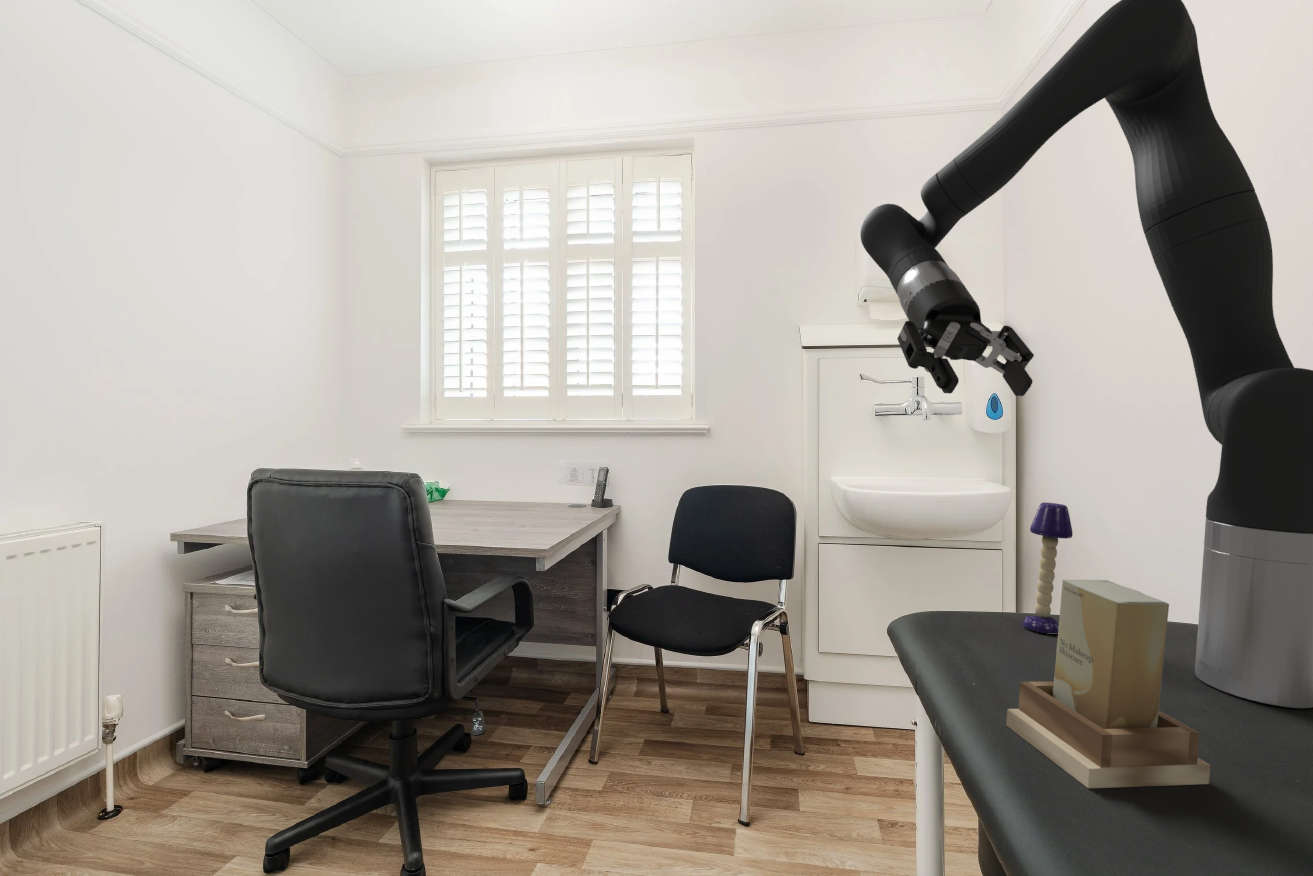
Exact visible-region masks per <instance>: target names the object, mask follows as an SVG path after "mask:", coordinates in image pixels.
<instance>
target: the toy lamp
mask: <svg viewBox="0 0 1313 876" xmlns="http://www.w3.org/2000/svg"><path fill="white" fill-rule="evenodd" d="M1069 513H1070V512H1069V509H1068V506H1067V505H1065V504H1062V503H1054V502H1041V503H1039V506H1038V508H1037V511H1036V513H1035V516H1034V518H1033V520H1032V522H1031V525H1030V528H1029V530H1030V533H1032V534H1034V535H1037V536H1041V545H1042V547H1041V548H1040V555H1041V558H1040V559H1039V566H1040V569H1039V570H1038V579H1039V580H1038V582H1037V584H1036V589H1037V593H1036V595H1035V600H1036V604H1035V606H1034V611H1035V614H1037V615H1049V616H1028V615H1026V617H1024V619H1023V621H1022V626H1023V628H1025V627H1026V628H1025V629H1027V630H1029V629H1030V630H1029V631H1031V630H1033V631H1032V632H1034V631H1036V632H1035V633H1038V632H1041V633H1040V634H1042V633H1058V628H1059V621H1058V620H1056V619H1055V618H1054V617H1052V616H1050V615H1051V611H1052V609H1051V604H1052V603H1053V602H1052V601H1053V596H1052V593H1053V591H1054V583H1053V582H1054V580H1055V577H1056V576H1055V575H1056V574H1055V571H1054V570H1055V569H1056V566H1057V565H1056V564H1057V562H1056V558H1057V555H1058V550H1057V546H1058V544H1059V539H1072V537H1073V528H1072V522H1071V518H1070V517H1071V516H1070V514H1069Z"/></svg>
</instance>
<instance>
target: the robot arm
mask: <svg viewBox="0 0 1313 876" xmlns="http://www.w3.org/2000/svg"><path fill="white" fill-rule="evenodd" d="M1103 99H1105V101H1106V102H1107V103H1108V106H1109V107H1110V108H1111V111H1112V112H1113V114H1114V116H1115V118H1116V120H1117V122H1118V124H1119V126H1120V128H1121V130H1122V132H1123V135H1124V137H1125V139H1126V140H1127V141H1126V142H1127V143H1128V145H1129V149H1130V152H1131V156H1132V160H1133V168H1134V180H1135V181H1134V182H1135V183H1134V184H1135V193H1136V199H1137V200H1136V201H1137V209H1138V213H1139V214H1138V215H1139V218H1140V224H1141V226H1142V227H1141V228H1142V231H1143V234H1144V236H1145V239H1146V243H1147V245H1148V248H1149V250H1150V254H1151V256H1152V259H1153V262H1154V265H1155V267H1156V270H1157V272H1158V274H1159V277H1160V279H1161V282H1162V285H1163V287H1164V290H1165V292H1166V295H1167V297H1168V300H1169V302H1170V305H1171V307H1172V309H1173V312H1174V314H1175V316H1176V318H1177V321H1178V323H1179V325H1180V327H1181V329H1182V331H1183V334H1184V338H1186V341H1187V344H1188V347H1189V348H1188V349H1189V351H1190V356H1191V360H1192V364H1193V368H1194V372H1195V373H1194V374H1195V378H1196V382H1197V389H1198V393H1199V398H1200V403H1201V409H1202V415H1203V419H1204V423H1205V425H1206V428H1207V430H1208V431H1209V433H1210V434H1211V436H1212V437H1213V438H1214V439H1215V441H1217V442H1218V443H1219V444H1220V445H1221V451H1220V461H1219V471H1218V475H1217V476H1218V477H1217V481H1216V483H1215V485H1214V488H1213V489H1212V491H1211V492H1210V493H1209V494H1208V496H1207V497H1206V507H1205V508H1206V509H1205V524H1204V525H1205V527H1204V539H1203V540H1204V541H1203V555H1202V557H1203V558H1202V568H1201V581H1200V597H1199V610H1198V624H1197V625H1198V626H1197V637H1196V647H1195V648H1196V650H1195V651H1196V652H1195V663H1194V675H1195V676H1196V678H1198V679H1199V681H1202V682H1203V683H1204V684H1207V685H1209V686H1211V687H1213V688H1215V689H1218V690H1219V691H1222V692H1224V693H1227V694H1231V695H1233V696H1236V697H1239V698H1243V699H1247V700H1249V701H1255V702H1258V703H1262V704H1267V705H1272V706H1278V707H1284V708H1292V709H1312V708H1313V369H1308V368H1304V367H1303V368H1300V367H1295V366H1294V363H1293V362H1292V360H1291V359H1290V356H1289V354H1288V352H1287V349H1286V348H1285V345H1284V342H1283V340H1282V338H1281V335H1280V333H1279V331H1278V328H1277V323H1276V321H1275V315H1274V307H1273V306H1274V304H1273V302H1274V301H1273V299H1274V298H1273V286H1274V285H1273V284H1274V280H1273V279H1274V263H1273V262H1274V258H1273V257H1274V256H1273V255H1274V254H1273V245H1272V238H1271V232H1270V229H1269V227H1268V226H1269V225H1268V222H1267V218H1266V216H1265V214H1264V209H1263V207H1262V205H1261V203H1260V200H1259V197H1258V195H1257V192H1256V190H1255V187H1254V185H1253V182H1252V180H1251V179H1250V176H1249V174H1248V172H1247V170H1246V168H1245V166H1244V164H1243V162H1242V160H1241V158H1240V157H1239V154H1238V152H1237V151H1236V150H1235V148H1234V146H1233V144H1232V142H1231V141H1230V140H1229V139H1228V137H1227V135H1226V134H1225V132H1224V131H1223V129H1222V127H1221V126H1220V124H1219V123H1218V121H1217V118H1216V116H1215V114H1214V111H1213V110H1212V106H1211V103H1210V99H1209V96H1208V91H1207V88H1206V83H1205V79H1204V73H1203V68H1202V63H1201V58H1200V51H1199V45H1198V35H1197V31H1196V28H1195V24H1194V22H1193V20H1192V18H1191V15H1190V14H1189V11H1188V9H1187V8H1186V6H1185V4H1184V2H1183V1H1182V0H1119V1H1118V2H1117V3H1115V4H1113V5H1111V7H1109V8H1108V9H1107V10H1106V11H1105V12H1104V13H1103V14H1102V15H1101V16H1100V17H1099V18H1097V19H1096V21H1094V22H1093V23H1092V24H1091V26H1089V27H1088V28H1087V30H1085V31H1084V33H1083V34H1082V35H1081V36H1080V37H1078V39H1077V40H1076V41H1075V42H1074V44H1072V45H1071V47H1069V49H1068V50H1067V51H1065V53H1064V54H1063V55H1062V56H1061V57H1060V59H1058V60H1057V62H1056V63H1054V65H1053V66H1052V67H1050V69H1048V71H1047V72H1046V73H1045V74H1044V75H1043V76H1042V77H1041V78H1040V79H1039V80H1038V81H1037V82H1036V83H1035V84H1034V85H1032V87H1031V88H1030V89H1029V90H1028V91H1027V92H1026V93H1025V94H1024V95H1023V96H1022V97H1021V98H1020V99H1019V100H1018V101H1017V102H1016V103H1015V104H1014V105H1013V106H1012V107H1011V108H1010V109H1009V110H1008V111H1006V113H1004V115H1003V116H1001V117H1000V119H998V120H997V121H996V122H995V123H994V124H993V125H991V127H990V128H988V129H987V130H986V131H985V132H984V133H983V134H982V135H980V136H979V137H978V138H977V139H975V141H974V142H972V143H971V144H969V145H968V146H967V147H966V148H964V150H962V151H961V152H960V153H959V154H958V155H956V156H955V157H954V158H953V159H951V161H949V162H948V163H947V164H946V165H945V166H943V167H942V168H941V169H940V170H938V171H937V172H936V173H935V174H934V175H932V176H931V177H930V178H929V179H928V180H927V181H926V182H925V183H924V184H923V185H922V187H921V189H920V197H921V201H922V203H923V205H924V206H925V208H926V212H925V214H924V215H923V216H922V217H921V219H917V218H916V217H914V216H913V215H911V214H910V213H909V212H908V211H907V210H906V209H904V208H903V207H902V206H900V205H898V204H894V203H884V204H881V205H878V206H876V207H874V208H873V209H872V210H870V211H869V213H867V214H866V216H865V217H864V220H863V221H862V223H861V227H860V241H861V244H862V246H863V248H864V250H865V251H866V253H867V254H868V255H869V257H870V258H871V259H872V261H874V263H875V264H876V265H877V266H878V267H879V268H880V269H881V270H882V271H883V272H884V274H885V275H886V276H887V278H888V279H889V281H890V284H891V286H892V288H893V290H894V292H895V293H896V295H897V297H898V299H899V303H900V306H901V309H902V311H903V312H904V314H905V316H906V318H907V319H908V320H906V321H904V323H903V326H902V328H901V329H900V333H899V334H898V335H897V338H896V339H897V342H898V344H899V346H900V349H901V351H902V353H903V356H904V358H905V361H906V363H907V365H908V367H909V368H911V369H918V368H919V367H921V368H924V370H925V371H926V372H927V373H930V376H931V377H932V379H933V381H934V383H935V385H936V386H937V387H938V388H939V389H941V390H942V393H944V394H952V393H953V392H954V391H955V389H956V388H957V386H958V385H959V382H960V381H959V376H958V375H957V374H956V372H955V370H954V368H953V367H952V365H951V363H950V361H959V360H966V361H971V362H972V361H973V362H975V363H977V364H978V365H980V366H981V367H983V368H984V369H988V368H992V369H994V370H995V371H997V372H999V374H1002V376H1001V377H1002V378H1003V380H1004V381H1005V382H1006V384H1007V385H1008V387H1009V388H1010V390H1011V391H1012V393H1013V395H1014V396H1016V397H1024V396H1025V395H1026V393H1027V392H1028V391H1029V389H1030V388H1031V387H1032V384H1033V379H1032V377H1031V376H1030V375H1029V373H1028V372H1027V370H1026V368H1027V366H1028V364H1029V363H1030V361H1032V359H1033V358H1034V356H1035V354H1034V353H1033V352H1032V351H1031V349H1030V348H1029V347H1028V345H1027V344H1026V343H1025V342H1024V341H1023V340H1022V338H1021V337H1020V336H1019V335H1018V333H1017V332H1016V331H1015V330H1014V329H1013V327H1011V326H1009V325H1003V326H1002V328H1001V329H1000V330H991V329H990V328H989V327H987V326H986V325H985V324H984V323H983V322H982V317H981V309H980V306H979V305H978V303H977V302H976V300H975V299H974V298H973V296H972V295H971V293H970V291H969V290H968V289H967V287H966V286H965V284H964V282H963V281H962V280H961V279H960V277H959V275H958V274H957V273H956V272H955V271H954V270H953V269H952V268H951V267H950V266H949V265H948V263H947V262H946V261H945V259H944V258H943V256H942V254H941V253H940V252H939V251H938V250H937V249H936V248H937V247H938V246H939V244H940V243H941V242H942V241H943V239H945V237H946V236H947V235H948V234H949V233H950V232H951V230H952V229H953V228H954V226H956V225H957V224H958V223H959V221H960V220H961V219H962V218H964V217H965V216H967V215H968V214H969V213H970V212H973V210H974V209H976V208H977V207H979V206H980V205H982V204H983V203H984V202H985V201H987V200H988V199H989V198H991V197H992V196H993V195H995V194H996V193H998V192H999V191H1001V189H1002V188H1003V187H1005V186H1006V185H1007V184H1008V183H1009V182H1010V181H1011V180H1012V179H1013V178H1014V177H1015V176H1016V175H1017V174H1018V173H1019V172H1020V171H1022V169H1023V168H1024V166H1026V164H1027V163H1028V162H1029V161H1030V160H1031V158H1033V156H1035V154H1036V153H1037V152H1038V151H1039V150H1040V149H1041V148H1042V147H1043V146H1044V145H1045V143H1047V142H1048V140H1049V139H1050V138H1052V136H1054V135H1055V134H1056V133H1057V132H1058V131H1060V130H1061V129H1062V128H1063V127H1064V126H1065V125H1067V124H1068V123H1069V122H1070V121H1072V120H1073V119H1074V118H1075V117H1077V116H1078V115H1080V114H1081V113H1083V112H1084V111H1085V110H1087V109H1089V108H1090V107H1092V106H1093V105H1096V104H1097V103H1098V102H1100V101H1101V100H1103ZM989 345H990V346H991V347H992V349H991V351H990V353H989V354H988V356H985V355H984V353H985V351H986V349H987V348H988V346H989ZM926 346H928V347H929V348H931V349H933V352H931V351H928V349H927V347H926ZM999 356H1002V358H1004V360H1005V361H1006V362H1004V363H1003V362H1001V361H1000V360H998V357H999ZM944 357H945V358H944ZM948 358H949V359H950V361H949V360H948Z"/></svg>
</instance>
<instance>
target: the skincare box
mask: <svg viewBox="0 0 1313 876" xmlns="http://www.w3.org/2000/svg"><path fill="white" fill-rule="evenodd" d="M1061 583H1062V584H1061V596H1060V607H1059V608H1060V609H1059V617H1058V618H1059V620H1058V624H1059V628H1058V635H1057V641H1056V651H1055V652H1056V653H1055V665H1054V675H1053V677H1054V678H1053V681H1054V686H1053V698H1055V699H1057V700H1058V701H1060V702H1061V703H1063V704H1065V705H1066V706H1068V707H1069V708H1071V709H1072V710H1074V711H1076V712H1077V713H1079V714H1080V715H1082V716H1084V717H1085V718H1087V719H1088V720H1090V721H1091V722H1093V723H1095V724H1096V725H1098V726H1099V727H1101V728H1103V729H1126V728H1157V723H1158V713H1159V711H1160V710H1159V709H1160V701H1161V692H1162V691H1161V690H1162V689H1161V688H1162V680H1163V670H1164V669H1163V668H1164V660H1165V647H1166V640H1167V629H1168V621H1169V619H1168V617H1169V609H1170V604H1169V602H1166V601H1163V600H1160V599H1158V598H1155V597H1153V596H1150V595H1147V594H1146V593H1143V592H1141V591H1139V590H1136V589H1133V588H1130V587H1126V586H1123V585H1120V584H1118V583H1116V582H1113V581H1110V580H1107V579H1062V581H1061Z"/></svg>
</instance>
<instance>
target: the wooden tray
mask: <svg viewBox="0 0 1313 876" xmlns="http://www.w3.org/2000/svg"><path fill="white" fill-rule="evenodd" d="M1053 686H1054V680H1052V681H1020V682H1019V693H1018V694H1019V696H1018V708H1007V710H1006V727H1008V728H1009V729H1010V730H1011V731H1013V732H1014V733H1015V734H1016V735H1018V736H1019V737H1021V738H1022V739H1023V740H1024V741H1026V742H1027V743H1029V744H1030V745H1031V746H1032V747H1033V748H1035V749H1036V750H1038V752H1040V753H1041V754H1043V755H1044V756H1045V757H1047V758H1048V759H1049V760H1050V761H1052V762H1053V763H1054V764H1056V765H1057V766H1058V767H1059V768H1061V769H1062V770H1063V771H1065V773H1067V774H1069V775H1070V776H1071V777H1073V778H1074V779H1075V780H1077V781H1078V782H1079V783H1080V784H1081V785H1083V786H1084V787H1086V788H1087V789H1105V788H1106V789H1107V788H1108V789H1109V788H1136V787H1137V788H1139V787H1160V786H1161V787H1163V786H1164V787H1166V786H1187V785H1189V786H1191V785H1193V786H1194V785H1209V784H1210V772H1211V764H1210V763H1208V762H1206V761H1205V760H1202V759H1201V758H1200V757H1198V756H1199V745H1200V743H1199V741H1200V731H1197V730H1196V729H1194V728H1192V727H1191V726H1188V725H1187V724H1186V723H1185V724H1184V723H1183V722H1181V721H1179V720H1177V719H1175V718H1173V717H1171V716H1169V715H1168V714H1166V713H1164V712H1163V711H1161V710H1159V713H1158V723H1157V728H1126V729H1103V728H1101V727H1099V726H1098V725H1096V724H1095V723H1093V722H1091V721H1090V720H1088V719H1087V718H1085V717H1084V716H1082V715H1080V714H1079V713H1077V712H1076V711H1074V710H1072V709H1071V708H1069V707H1068V706H1066V705H1065V704H1063V703H1061V702H1060V701H1058V700H1057V699H1055V698H1053Z"/></svg>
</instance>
